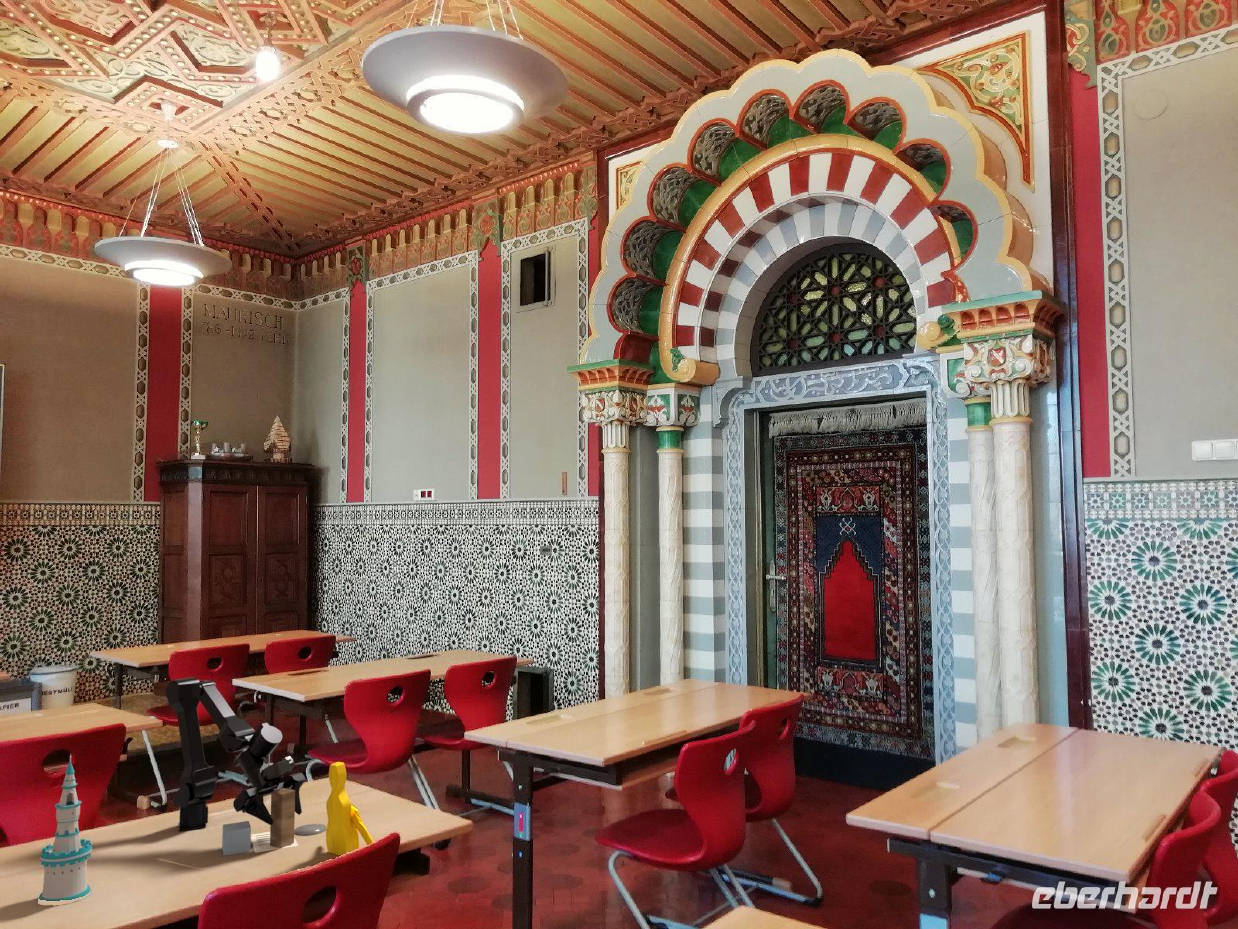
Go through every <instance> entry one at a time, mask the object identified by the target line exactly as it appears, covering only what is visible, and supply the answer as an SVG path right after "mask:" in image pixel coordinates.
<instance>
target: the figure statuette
mask: <svg viewBox="0 0 1238 929" xmlns="http://www.w3.org/2000/svg"><path fill="white" fill-rule="evenodd" d="M328 781H329V784H330V788H331V792H330V794H329V796H328V797H327V800H326V804H325V805H326V815H327V825H326V827H327V829H326V831H325V842H326V843H325V844H326V849H327V852H328V853H330V854H333V855H336V856H339V855H343V854H346V853H347V852H351V851H353V850H355V849H359V850H360V837H359V834H360V836H361V838H362V839H363V840H364V842H365V843H366V846H367V845H369V844H371V843H373V842H374V840H373V838H372V836H371V834H370V833H369V831H368V830H367V828H366V826H365V823H364V822H363V820H362V818H361V815H360V810H359V808H358V807H356V806H355V805H354V804H353V803H352V802H351V800H350V798H349V796H348V793H347V791H346V788H345V787H346V782H347V770H346V765H345V763H344V762H341V761H337V762H334V763H331V764H330V765H329V769H328ZM374 843H375V842H374Z"/></svg>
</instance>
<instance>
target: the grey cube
mask: <svg viewBox="0 0 1238 929" xmlns="http://www.w3.org/2000/svg"><path fill="white" fill-rule="evenodd" d="M251 832H252V827H251V823H250V821H249V820H247V821H246V820H245V821H238V822H232V823H224V824H222V836H221V837H222V839H221V840H222V841H221V850H222V855H223V856H224V855H226V856H230V855H237V854H242V853H243V854H244V853H250V852H251V844H252V841H251V835H252V833H251Z"/></svg>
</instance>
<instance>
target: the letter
mask: <svg viewBox="0 0 1238 929" xmlns="http://www.w3.org/2000/svg"><path fill="white" fill-rule="evenodd" d="M251 835H252V836H251V844H252V846H253V849H254V853H257V854H258V853H261V852H268V851H276V850H281V849H287V848H294V847H299V844H298V842H297V839H296V838H295V836H294V843H293V844H291V845H288V846H286V847H283V848H278V847H274V846H270V831H267V832H266V831H265V832H259V833H251Z"/></svg>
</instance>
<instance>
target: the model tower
mask: <svg viewBox="0 0 1238 929" xmlns="http://www.w3.org/2000/svg"><path fill="white" fill-rule="evenodd" d="M75 772H76V771H75V769H74V767H73V765H72V754H71V753H70V755H69V763H68V766H67V767H66V770H65V773H64V774H65V776H64V779H63V784H62V785H60V787H61V788H62V792H61V796H60V799H59V802H58V803H56V804H55V805H54V807H55V808H56V809H55V810H56V812H55V818H56V823H57V826H56V832H55V834H54V841H53V844H47V845H46V846H45V847H42V848H41V853H40V856H39V859H40V861H41V862H40V864H41V866H43V870H44V874H43V886H42V892H41V893H40V894H39V896H38V898H39V899H40V900H46V901H60V900H72V899H76V898H79V897H83V896H85V895H86V894H88V893H89V892H90V890H91V887H90V885H89V884H88V882H87V874H88V873H87V872H88V871H87V865H88V859H89V858H90V857H91V853H92V852H93V846H92V841H91V840H90V839H86V838H80V830H79V821H78V820H79V819H80V814H81V804H82V800H79V799H78V795H77V790H76V787H77V785H78V782H76V777H75ZM91 891H92V890H91Z"/></svg>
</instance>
